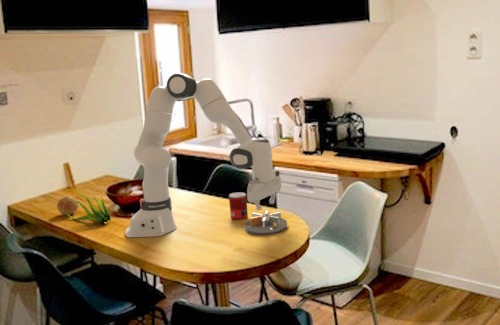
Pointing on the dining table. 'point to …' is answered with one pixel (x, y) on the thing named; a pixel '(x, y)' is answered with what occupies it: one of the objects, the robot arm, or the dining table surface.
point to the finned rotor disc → (265, 219)
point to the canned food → (238, 205)
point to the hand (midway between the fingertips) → (265, 206)
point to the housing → (268, 230)
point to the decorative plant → (96, 215)
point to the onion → (67, 205)
